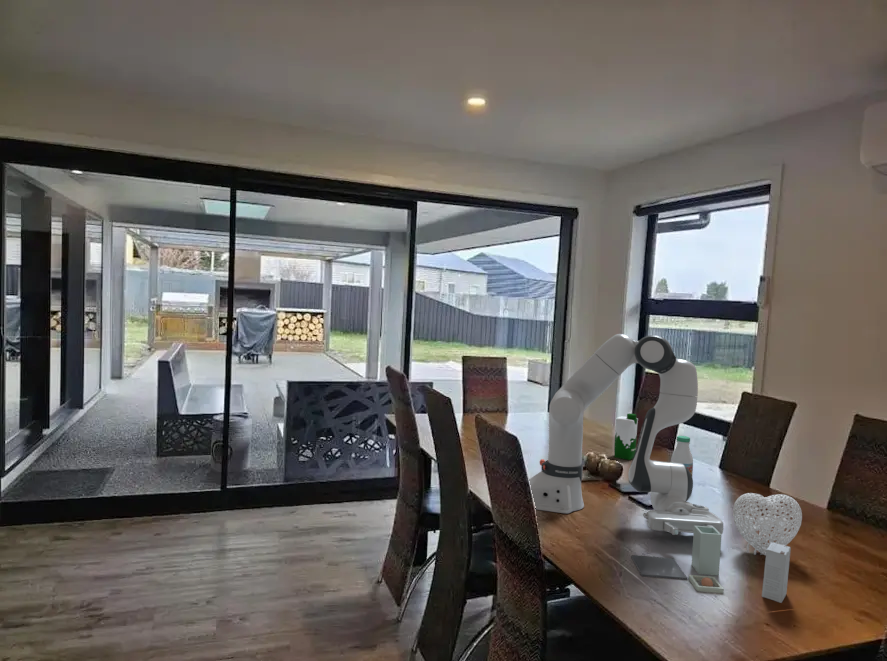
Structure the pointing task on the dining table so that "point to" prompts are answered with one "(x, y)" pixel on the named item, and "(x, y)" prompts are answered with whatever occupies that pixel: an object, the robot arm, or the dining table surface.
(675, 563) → the slate coaster
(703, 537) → the celadon tumbler
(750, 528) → the decorative heart
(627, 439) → the milk carton
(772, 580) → the skincare box
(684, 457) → the milk bottle
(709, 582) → the terracotta ball
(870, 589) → the dining table surface
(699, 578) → the sage dish
